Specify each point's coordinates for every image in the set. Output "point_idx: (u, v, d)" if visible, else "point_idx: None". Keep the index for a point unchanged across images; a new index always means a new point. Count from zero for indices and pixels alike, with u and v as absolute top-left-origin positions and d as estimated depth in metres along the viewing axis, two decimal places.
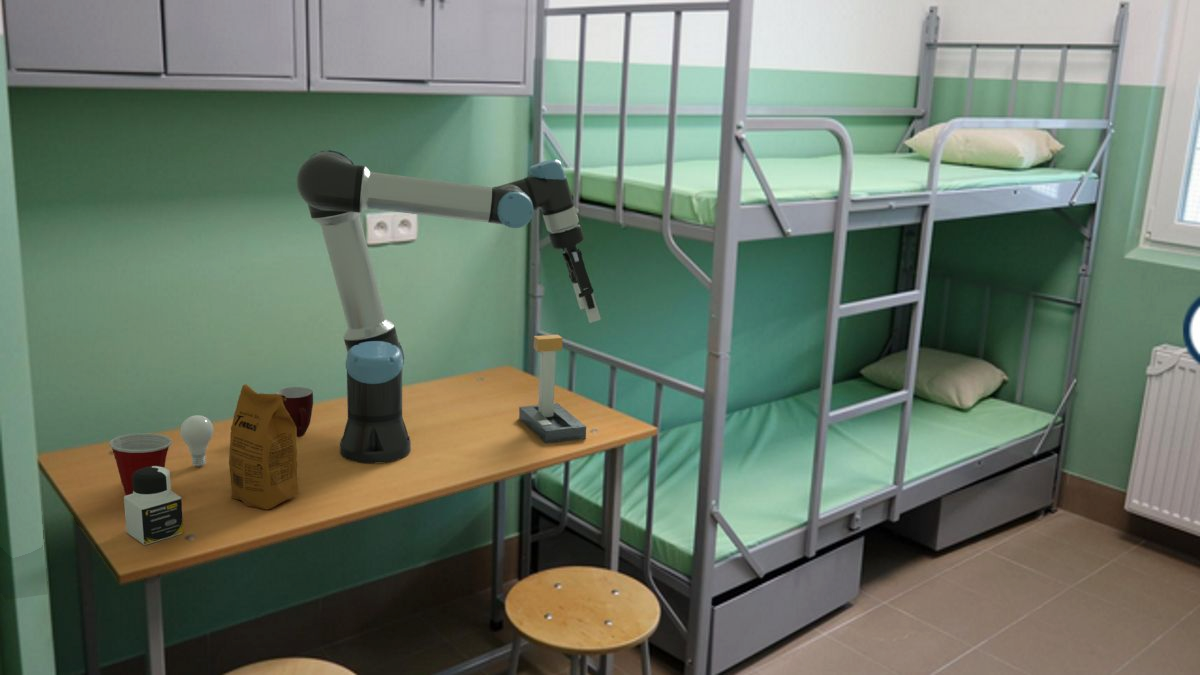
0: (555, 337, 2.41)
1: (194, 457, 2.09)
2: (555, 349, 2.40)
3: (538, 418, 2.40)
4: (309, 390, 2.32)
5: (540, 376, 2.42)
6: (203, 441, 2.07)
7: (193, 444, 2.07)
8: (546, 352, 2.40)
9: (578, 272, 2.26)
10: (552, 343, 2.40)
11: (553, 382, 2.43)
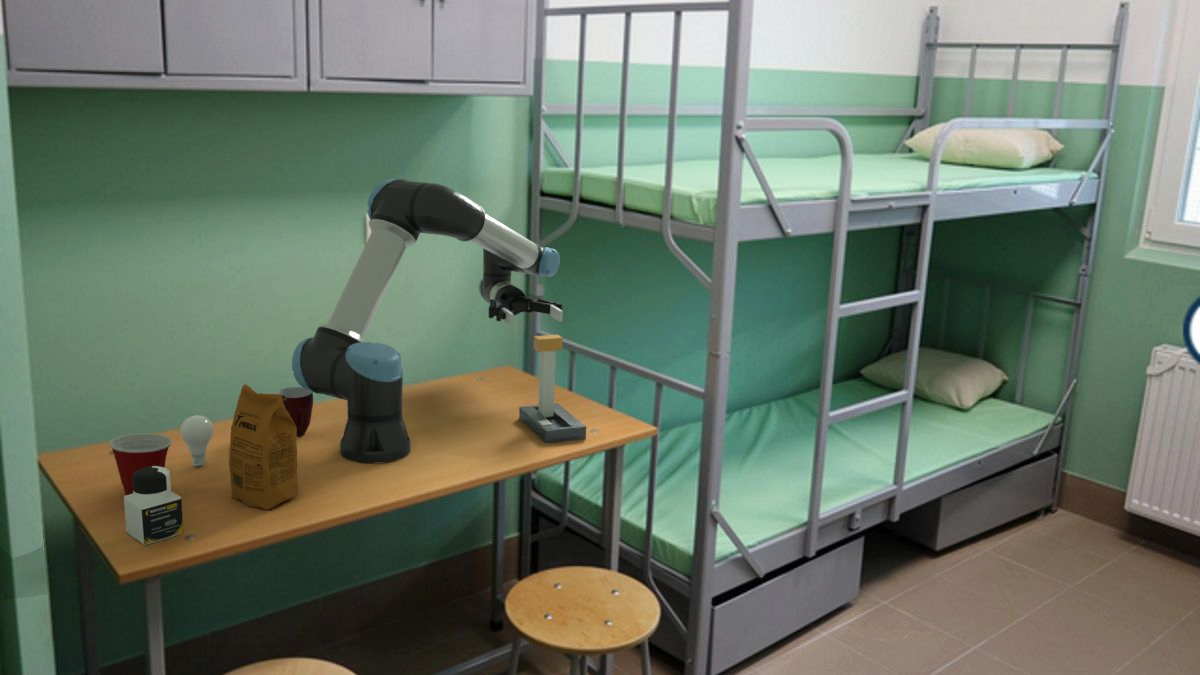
0: (555, 337, 2.41)
1: (194, 457, 2.09)
2: (555, 349, 2.40)
3: (538, 418, 2.40)
4: (309, 390, 2.32)
5: (540, 376, 2.42)
6: (203, 441, 2.07)
7: (193, 444, 2.07)
8: (546, 352, 2.40)
9: None
10: (552, 343, 2.40)
11: (553, 382, 2.43)
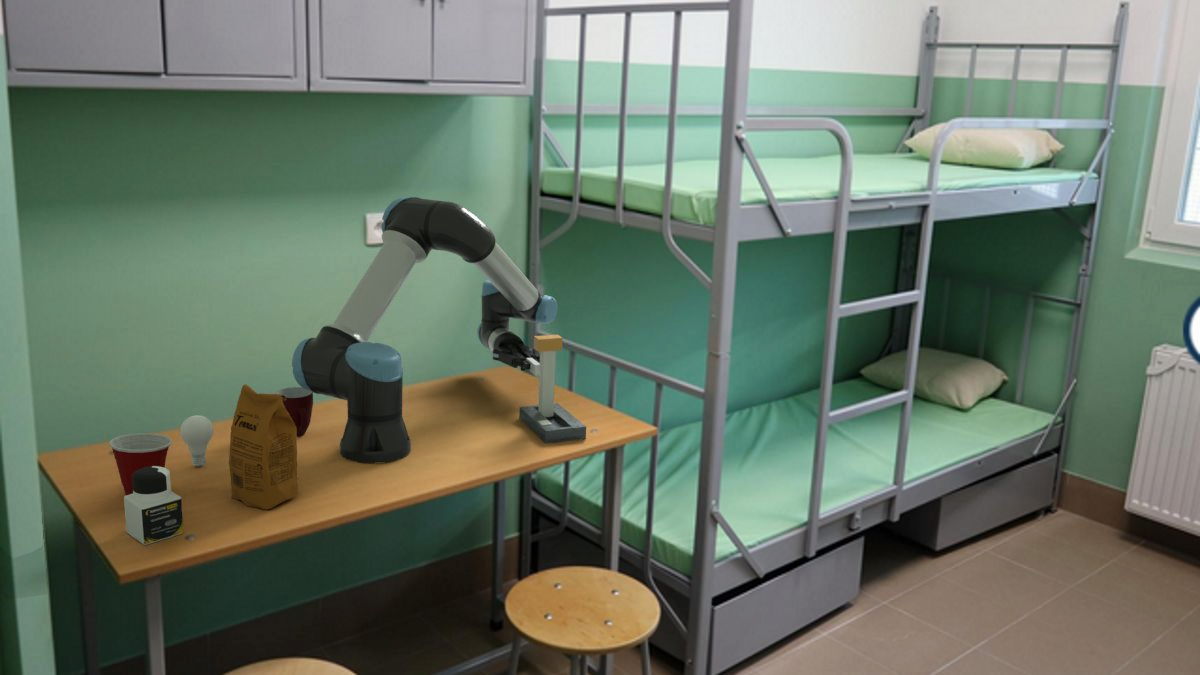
0: (555, 337, 2.41)
1: (194, 457, 2.09)
2: (555, 349, 2.40)
3: (538, 418, 2.40)
4: (309, 390, 2.32)
5: (540, 376, 2.42)
6: (203, 441, 2.07)
7: (193, 444, 2.07)
8: (546, 352, 2.40)
9: None
10: (552, 343, 2.40)
11: (553, 382, 2.43)
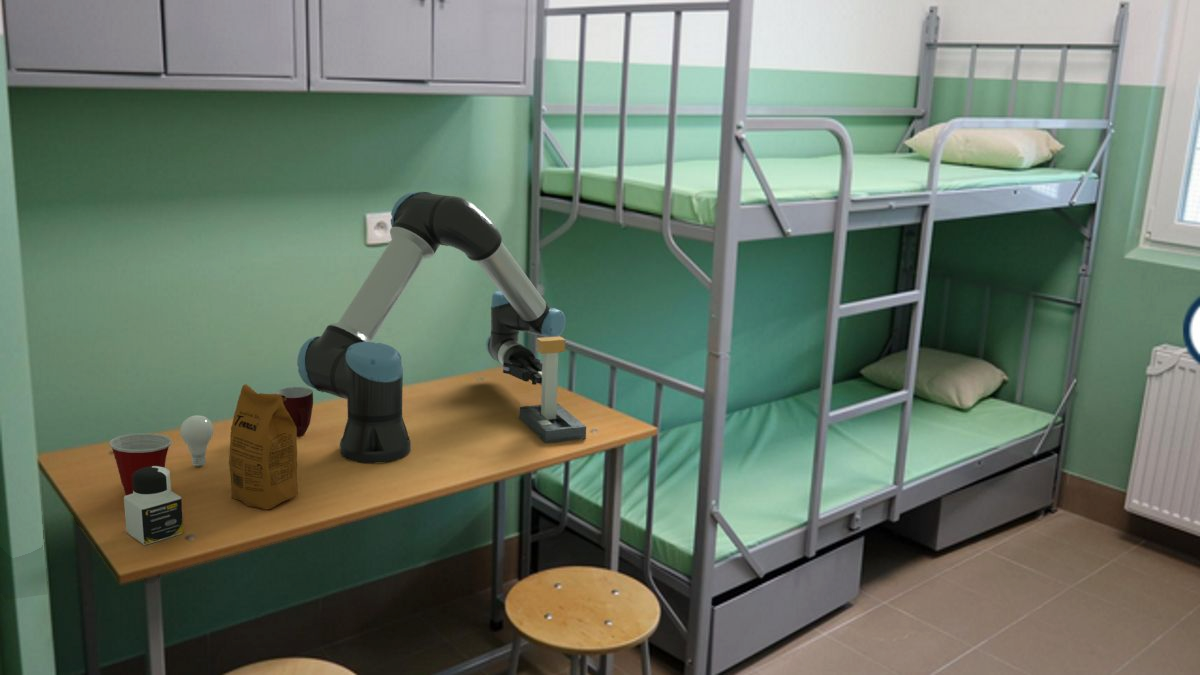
0: (558, 338, 2.39)
1: (194, 457, 2.09)
2: (558, 351, 2.39)
3: (538, 418, 2.40)
4: (309, 390, 2.32)
5: (543, 378, 2.41)
6: (203, 441, 2.07)
7: (193, 444, 2.07)
8: (549, 354, 2.38)
9: None
10: (555, 345, 2.38)
11: (556, 384, 2.41)
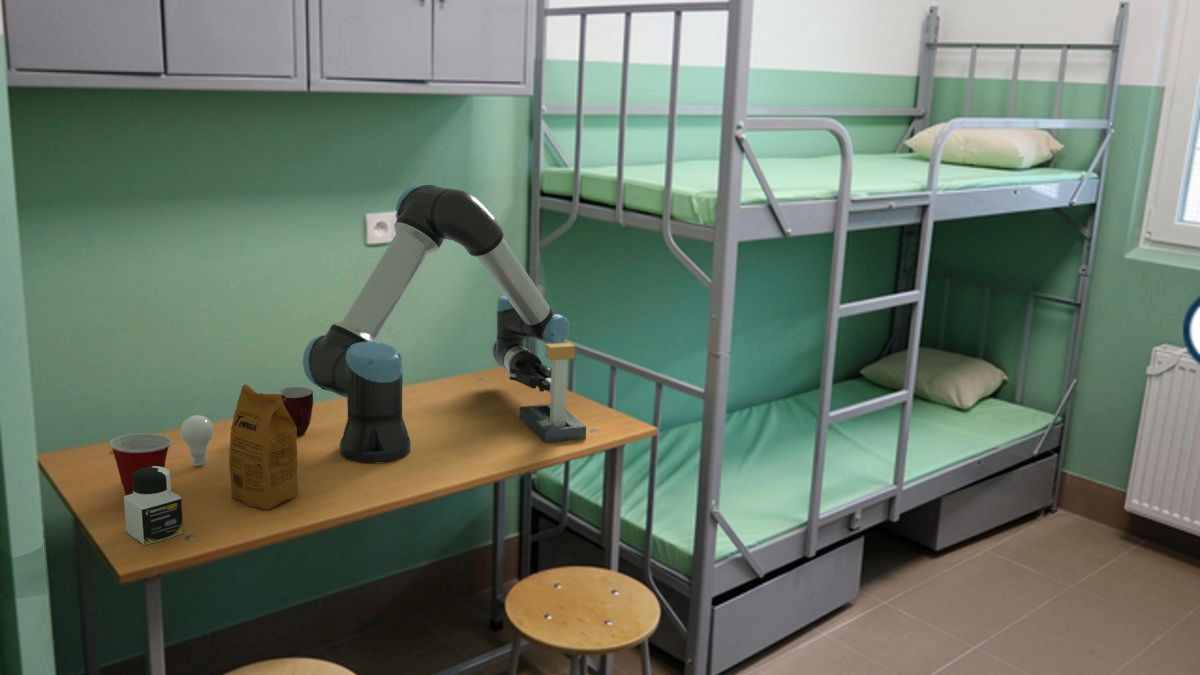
0: (568, 345, 2.34)
1: (194, 457, 2.09)
2: (567, 357, 2.34)
3: (538, 418, 2.40)
4: (309, 390, 2.32)
5: (552, 385, 2.36)
6: (203, 441, 2.07)
7: (193, 444, 2.07)
8: (558, 361, 2.33)
9: None
10: (565, 351, 2.33)
11: (565, 391, 2.36)
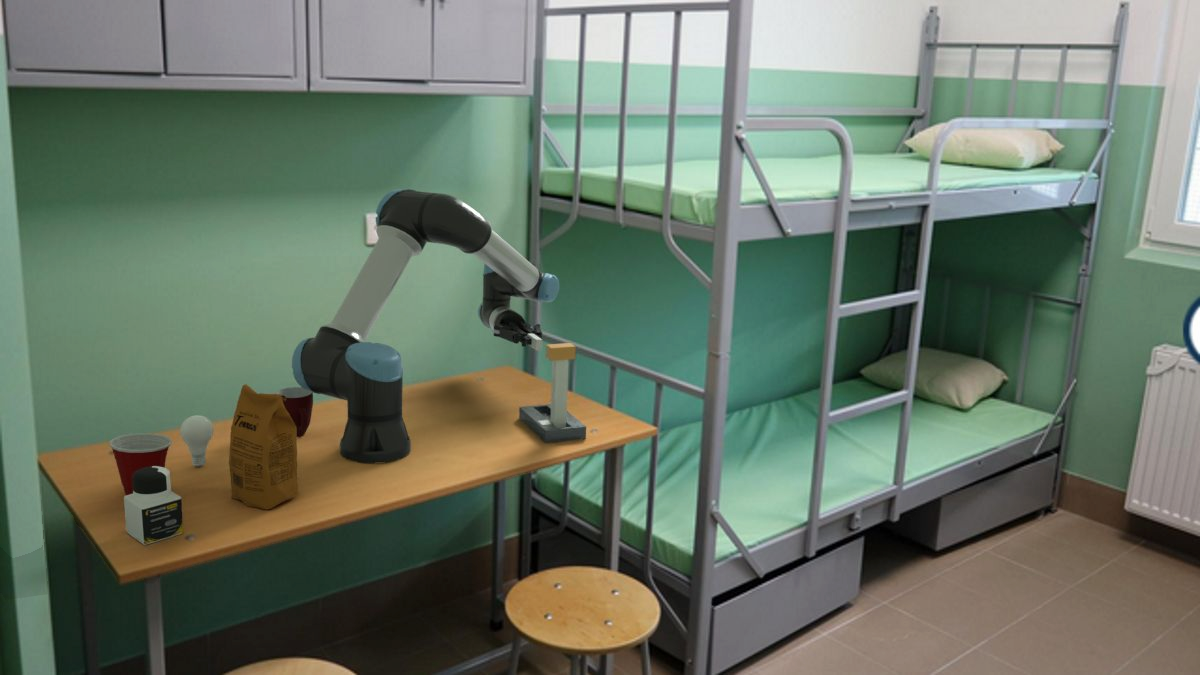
0: (568, 345, 2.34)
1: (194, 457, 2.09)
2: (568, 358, 2.33)
3: (538, 418, 2.40)
4: (309, 390, 2.32)
5: (553, 386, 2.35)
6: (203, 441, 2.07)
7: (193, 444, 2.07)
8: (559, 361, 2.33)
9: None
10: (565, 352, 2.33)
11: (566, 392, 2.36)
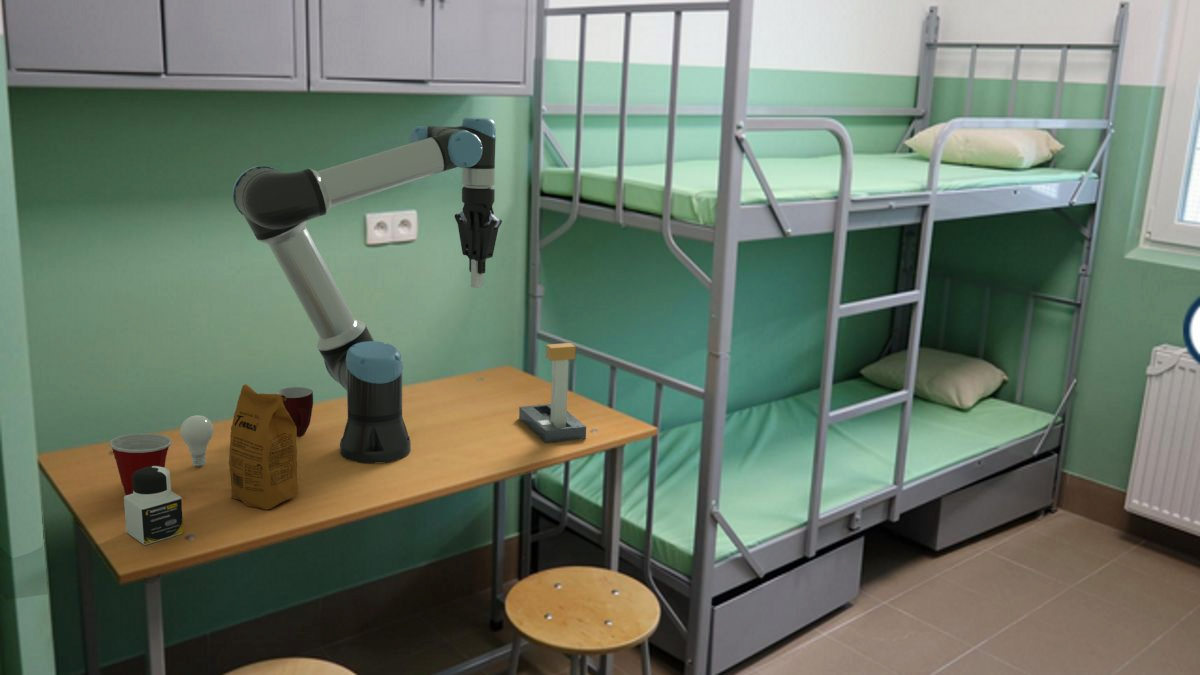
0: (568, 345, 2.34)
1: (194, 457, 2.09)
2: (568, 358, 2.33)
3: (538, 418, 2.40)
4: (309, 390, 2.32)
5: (553, 386, 2.35)
6: (203, 441, 2.07)
7: (193, 444, 2.07)
8: (559, 361, 2.33)
9: (491, 238, 2.34)
10: (565, 352, 2.33)
11: (566, 392, 2.36)
